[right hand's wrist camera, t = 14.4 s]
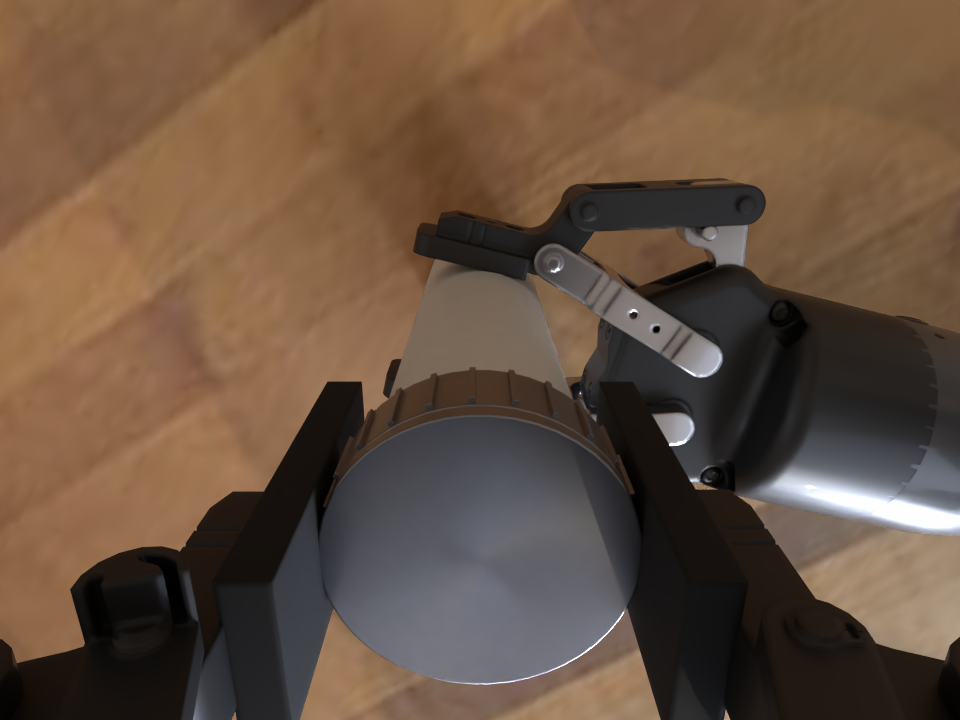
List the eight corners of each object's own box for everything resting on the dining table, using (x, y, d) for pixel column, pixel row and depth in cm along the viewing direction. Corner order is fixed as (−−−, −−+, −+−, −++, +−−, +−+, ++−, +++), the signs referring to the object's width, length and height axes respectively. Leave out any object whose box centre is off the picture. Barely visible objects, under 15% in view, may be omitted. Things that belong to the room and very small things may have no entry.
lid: (561, 640, 13) (574, 718, 12) (306, 571, 13) (279, 643, 11) (671, 417, 12) (706, 471, 10) (379, 324, 11) (361, 364, 9)
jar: (408, 289, 28) (299, 552, 11) (473, 210, 27) (462, 369, 10) (486, 351, 29) (494, 678, 12) (552, 277, 28) (664, 526, 11)
